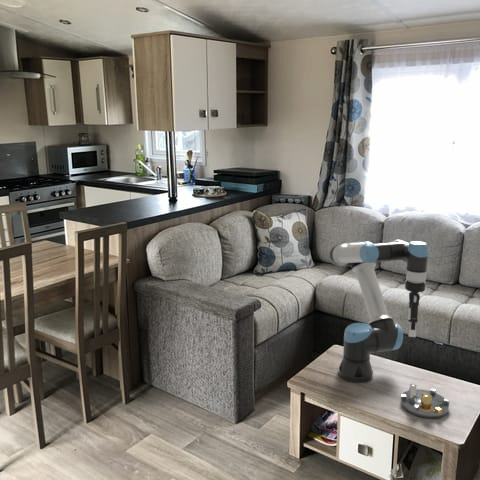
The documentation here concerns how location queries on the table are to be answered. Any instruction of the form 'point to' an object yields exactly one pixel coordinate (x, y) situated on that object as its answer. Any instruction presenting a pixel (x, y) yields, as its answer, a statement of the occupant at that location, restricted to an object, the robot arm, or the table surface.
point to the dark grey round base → (413, 400)
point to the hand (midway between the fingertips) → (411, 329)
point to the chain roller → (426, 401)
